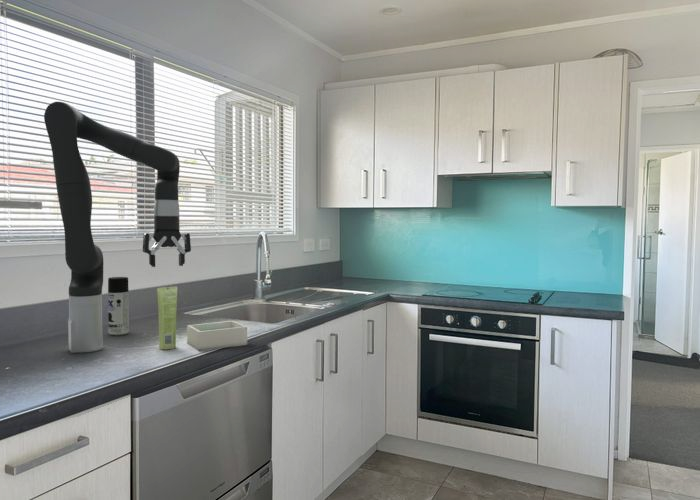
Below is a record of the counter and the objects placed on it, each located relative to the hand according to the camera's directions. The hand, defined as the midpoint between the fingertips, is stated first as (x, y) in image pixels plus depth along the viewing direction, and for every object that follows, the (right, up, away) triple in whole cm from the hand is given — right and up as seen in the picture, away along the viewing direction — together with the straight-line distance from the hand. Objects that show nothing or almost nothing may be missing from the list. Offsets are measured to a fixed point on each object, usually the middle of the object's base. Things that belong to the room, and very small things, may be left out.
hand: (167, 266), depth 167 cm
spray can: (-25, -25, +21) cm, 41 cm away
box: (+14, -26, +7) cm, 30 cm away
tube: (0, -26, +2) cm, 26 cm away
